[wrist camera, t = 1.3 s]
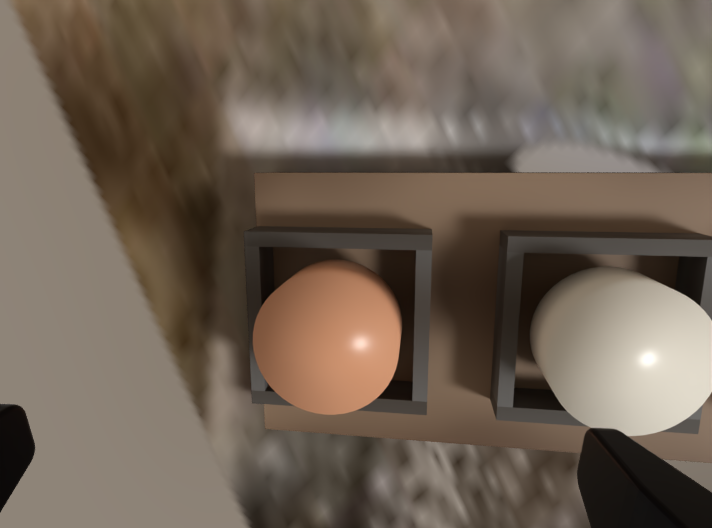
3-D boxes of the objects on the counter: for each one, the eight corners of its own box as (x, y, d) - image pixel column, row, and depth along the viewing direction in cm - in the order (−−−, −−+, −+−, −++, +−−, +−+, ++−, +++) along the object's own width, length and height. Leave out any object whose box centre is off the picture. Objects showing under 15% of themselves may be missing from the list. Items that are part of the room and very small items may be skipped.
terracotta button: (401, 386, 16) (397, 419, 14) (277, 378, 17) (255, 409, 15) (403, 261, 15) (400, 276, 13) (272, 257, 16) (249, 271, 14)
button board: (888, 446, 17) (1001, 513, 14) (279, 404, 21) (251, 450, 17) (957, 172, 15) (1107, 173, 12) (271, 172, 19) (238, 173, 15)
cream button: (668, 403, 15) (708, 442, 13) (524, 394, 16) (541, 429, 13) (687, 268, 14) (734, 285, 12) (534, 264, 15) (553, 280, 13)
